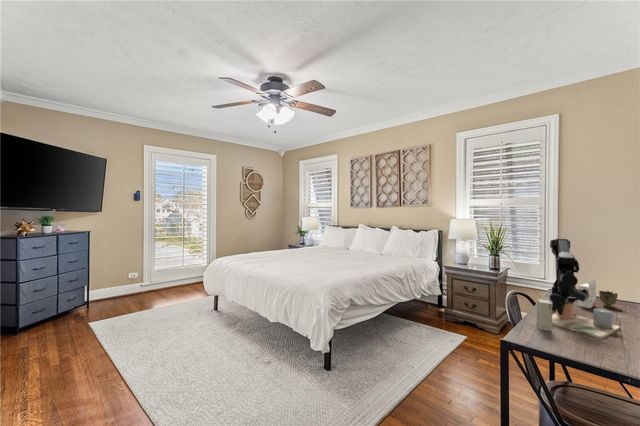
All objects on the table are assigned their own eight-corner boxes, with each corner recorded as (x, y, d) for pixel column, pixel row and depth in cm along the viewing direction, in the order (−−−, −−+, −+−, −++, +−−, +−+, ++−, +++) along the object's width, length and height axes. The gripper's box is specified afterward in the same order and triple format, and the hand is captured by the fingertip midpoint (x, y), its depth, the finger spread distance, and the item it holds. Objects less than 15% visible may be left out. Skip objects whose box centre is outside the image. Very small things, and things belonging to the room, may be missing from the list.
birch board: (540, 320, 140) (540, 318, 140) (560, 313, 152) (560, 310, 151) (602, 339, 121) (602, 336, 121) (620, 328, 133) (620, 326, 133)
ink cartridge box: (584, 303, 168) (585, 278, 167) (595, 306, 163) (596, 280, 163) (577, 305, 164) (578, 279, 163) (588, 308, 159) (589, 281, 159)
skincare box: (552, 332, 128) (553, 304, 127) (539, 330, 129) (540, 302, 129) (547, 326, 133) (548, 300, 133) (536, 325, 135) (537, 298, 135)
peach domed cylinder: (553, 315, 146) (554, 301, 145) (559, 312, 149) (560, 299, 149) (569, 319, 140) (570, 304, 140) (575, 317, 143) (575, 302, 143)
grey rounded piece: (590, 325, 134) (591, 309, 133) (595, 322, 137) (596, 307, 137) (609, 330, 128) (610, 314, 128) (614, 327, 131) (615, 312, 131)
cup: (594, 304, 167) (595, 290, 167) (606, 304, 168) (607, 290, 167) (608, 308, 159) (609, 294, 159) (621, 308, 160) (621, 294, 160)
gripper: (578, 288, 132) (577, 322, 133) (594, 283, 142) (593, 315, 142) (549, 282, 142) (548, 314, 142) (566, 278, 152) (565, 308, 152)
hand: (564, 313), depth 144 cm, fingers open, 9 cm apart
